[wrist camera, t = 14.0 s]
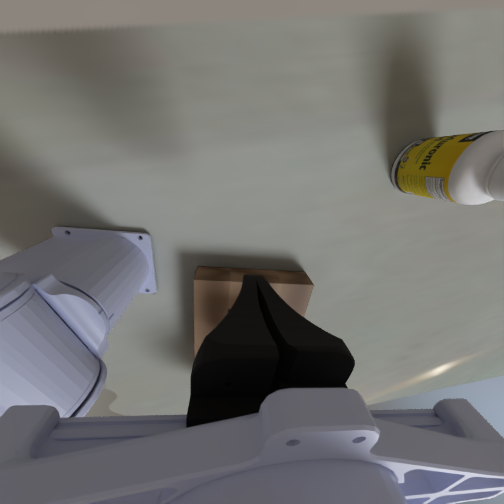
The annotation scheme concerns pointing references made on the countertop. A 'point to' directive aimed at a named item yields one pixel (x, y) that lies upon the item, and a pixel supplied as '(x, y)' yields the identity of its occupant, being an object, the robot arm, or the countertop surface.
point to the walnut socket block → (228, 288)
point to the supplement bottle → (453, 168)
